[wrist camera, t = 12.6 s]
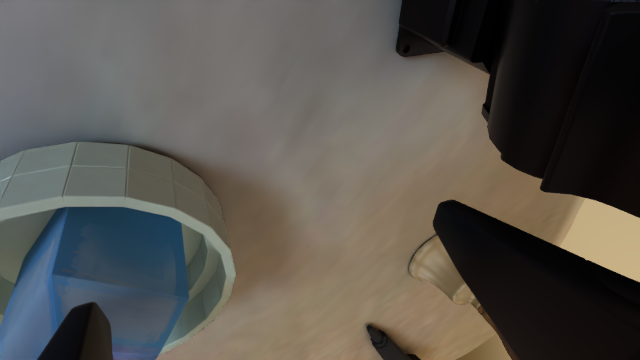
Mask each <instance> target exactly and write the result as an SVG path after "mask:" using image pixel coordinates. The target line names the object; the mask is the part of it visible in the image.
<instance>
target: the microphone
mask: <svg viewBox="0 0 640 360" xmlns="http://www.w3.org/2000/svg"><path fill="white" fill-rule="evenodd" d="M367 330H368V332H369V334H370V336H371V341H372V344H373V346H374V347H375V349H376V350H377V351H378V353H379V354H380V355H381V357H382V358H383V359H384V360H420V359H419V358H418V357H417V356H416V355H414V354H406V353H405V352H404V351H403V350H402V349H401V348H400V347H399V346H397V345H396V344H395V343H394V342H393V341H392V340H391V339H390V338H389V337H388V336H387V335H386V334H385V333H384V332H381V331H380V330H379V331H378V330H376V329H375V328H373V327H372V326H370V325H368V326H367Z"/></svg>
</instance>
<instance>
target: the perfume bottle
mask: <svg viewBox="0 0 640 360" xmlns="http://www.w3.org/2000/svg"><path fill="white" fill-rule="evenodd" d="M188 300H189V290H188V280H187V271H186V262H185V253H184V243H183V234H182V225H181V223H180V222H178V221H177V220H175V219H173V218H171V217H168V216H163V215H159V214H154V213H149V212H145V211H140V210H136V209H131V208H126V207H63V208H58V209H57V210H56V211H55V213H54V214H53V216H52V217H51V219H50V220H49V222H48V223H47V225H46V226H45V228H44V229H43V231H42V232H41V234H40V235H39V237H38V238H37V240H36V241H35V243H34V244H33V246H32V247H31V249H30V250H29V252H28V253H27V255H26V256H25V257H24V259H23V262H22V265H21V268H20V271H19V274H18V277H17V280H16V282H15V285H14V288H13V291H12V294H11V297H10V300H9V303H8V306H7V309H6V312H5V315H4V318H3V320H2V323H1V326H0V360H37V358H38V357H39V355H40V354H41V353H42V351H43V350H44V348H45V347H46V345H47V344H48V342H49V341H50V339H51V338H52V336H53V335H54V333H55V332H56V330H57V329H58V327H59V326H60V324H61V323H62V321H63V320H64V318H65V317H66V315H67V314H68V313H69V311H70V310H71V309H72V308H73V307H75V306H78V305H81V304H85V303H88V302H95V303H97V304H98V306H99V307H100V308H101V310H102V311H103V313H104V314H105V316H106V317H107V318H108V320H109V322H110V325H111V333H112V352H113V360H155V359H156V358H157V357H158V355H159V354H160V352H161V350H162V348H163V346H164V345H165V343H166V341H167V339H168V337H169V335H170V334H171V332H172V330H173V328H174V326H175V324H176V322H177V321H178V319H179V317H180V315H181V313H182V311H183V309H184V308H185V306H186V304H187V302H188Z"/></svg>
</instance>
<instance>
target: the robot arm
mask: <svg viewBox="0 0 640 360" xmlns="http://www.w3.org/2000/svg"><path fill="white" fill-rule="evenodd" d="M399 24H400V25H399V32H398V38H397V45H396V51H397V53H398V54H399V55H401V56H402V57H408V56H416V55H424V54H431V53H439V52H447V53H449V54H451V55H453V56H455V57H457V58H459V59H461V60H462V61H464V62H466V63H468V64H470V65H472V66H474V67H476V68H478V69H480V70H482V71H484V72H486V73H488V74H490V77H489V83H488V89H487V95H486V101H485V103H484V104H483V107H482V115H483V117H484V118H485V120H486V121H487V123H488V125H487V128H488V133H489V139H490V140H491V141H492V142H493V144H494V145H495V146H496V148H497V149H498V150H499V151H500V152H501V159H502V160H503V161H504V162H506V163H507V164H509V165H510V166H512V167H513V168H515V169H517V170H519V171H521V172H524V173H526V174H528V175H531V176H533V177H537V178H540V179H543V180H542V183H541V186H540V189H541V190H542V191H544V192H549V193H560V194H571V195H575V196H580V197H584V198H589V199H593V200H596V201H599V202H602V203H604V204H607V205H610V206H613V207H615V208H617V209H620V210H622V211H624V212H627V213H629V214H632V215H634V216H636V217H639V218H640V0H402V5H401V12H400V18H399ZM405 45H407V47H406V49H405V50H403V48H404V46H405ZM433 227H434V230H435V232H436V234H437V235H438V237H439V239H440V241H441V243H442V244H443V246H444V248H445V250H446V252H447V253H448V255H449V257H450V259H451V261H452V262H453V264H454V266H455V268H456V269H457V271H458V273H459V274H460V276H461V277H462V279H463V280H464V282H465V283H466V285H467V286H468V287H469V289H470V290H471V292H472V293H473V295H474V296H475V298H476V299H477V300H478V302H479V303H480V305H481V306H482V308H483V309H484V311H485V312H486V313H487V315H488V316H489V318H490V319H491V321H492V322H493V323H494V325H495V326H496V328H497V329H498V331H499V332H500V334H501V335H502V336H503V338H504V339H505V341H506V342H507V344H508V345H509V347H510V348H511V349H512V351H513V352H514V354H515V355H516V357H517V358H518V359H519V360H640V282H638V281H635V280H633V279H630V278H628V277H625V276H623V275H621V274H618V273H616V272H614V271H611V270H609V269H607V268H604V267H602V266H600V265H598V264H596V263H593V262H591V261H589V260H585V259H584V258H582V257H580V256H578V255H575V254H573V253H571V252H569V251H567V250H564V249H562V248H560V247H558V246H556V245H553V244H551V243H549V242H547V241H544V240H542V239H540V238H538V237H536V236H533V235H531V234H529V233H527V232H524V231H522V230H520V229H518V228H516V227H513V226H511V225H509V224H507V223H504V222H502V221H500V220H498V219H496V218H493V217H491V216H489V215H487V214H485V213H482V212H480V211H478V210H476V209H473V208H471V207H469V206H467V205H465V204H462V203H460V202H458V201H456V200H447V201H444V202H441V203H440V204H439V205H438V207H437V210H436V213H435V217H434V220H433ZM37 360H113V352H112V333H111V325H110V322H109V320H108V318H107V317H106V316H105V314H104V313H103V311H102V310H101V308H100V307H99V306H98V304H97V303H95V302H88V303H85V304H81V305H78V306H75V307H73V308H72V309H71V310H70V311H69V313H68V314H67V315H66V317H65V318H64V320H63V321H62V323H61V324H60V326H59V327H58V329H57V330H56V332H55V333H54V335H53V336H52V338H51V339H50V341H49V342H48V344H47V345H46V347H45V348H44V350H43V351H42V353H41V354H40V355H39V357H38V358H37Z"/></svg>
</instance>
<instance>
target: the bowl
mask: <svg viewBox="0 0 640 360" xmlns="http://www.w3.org/2000/svg"><path fill="white" fill-rule="evenodd" d="M63 207H126V208H131V209H136V210H140V211H145V212H149V213H154V214H159V215H163V216H168V217H171V218H173V219H175V220H177V221H178V222H180V223H181V225H182V234H183V243H184V253H185V262H186V271H187V280H188V290H189V300H188V302H187V304H186V306H185V308H184V309H183V311H182V313H181V315H180V317H179V319H178V321H177V322H176V324H175V326H174V328H173V330H172V332H171V334H170V335H169V337H168V339H167V341H166V343H165V345H164V346H163V348H162V350H161V352H160V354H159V355H161V354H163V353H165V352H167V351H169V350H171V349H173V348H174V347H176V346H178V345H180V344H182V343H184V342H186V341H188V340H189V339H191V338H192V337H193V336H195V335H196V334H197V333H198V332H200V331H201V330H202V329H203V328H204V327H206V326H207V325H208V324H209V323H211V322H212V321H213V320H214V319H215V318H216V317H217V315H218V314H219V312H220V311H221V310H222V308H223V307H224V306H225V304H226V303H227V302H228V300H229V299H230V296H231V292H232V288H233V285H234V281H235V277H236V270H235V266H234V261H233V257H232V252H231V248H230V244H229V240H228V236H227V232H226V228H225V223H224V219H223V215H222V211H221V207H220V203H219V201H218V199H217V198H216V197H215V195H214V194H213V193H212V191H211V190H210V189H209V187H208V186H207V185H206V183H205V182H204V181H203V179H201V177H199V176H198V175H196V174H195V173H193V172H192V171H190V170H189V169H187V168H185V167H184V166H182V165H181V164H179V163H178V162H176V161H175V160H173V159H171V158H169V157H166V156H162V155H159V154H156V153H153V152H150V151H147V150H144V149H140V148H137V147H134V146H131V145H123V144H109V143H95V142H82V141H80V142H70V143H64V144H57V145H51V146H45V147H39V148H32V149H27V150H23V151H21V152H18V153H16V154H14V155H12V156H10V157H7V158H5V159H3V160H1V161H0V326H1V323H2V320H3V318H4V315H5V312H6V309H7V306H8V303H9V300H10V297H11V294H12V291H13V288H14V285H15V282H16V280H17V277H18V274H19V271H20V268H21V265H22V262H23V259H24V257H25V256H26V255H27V253H28V252H29V250H30V249H31V247H32V246H33V244H34V243H35V241H36V240H37V238H38V237H39V235H40V234H41V232H42V231H43V229H44V228H45V226H46V225H47V223H48V222H49V220H50V219H51V217H52V216H53V214H54V213H55V211H56V210H57V209H58V208H63ZM159 355H158V356H159Z"/></svg>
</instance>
